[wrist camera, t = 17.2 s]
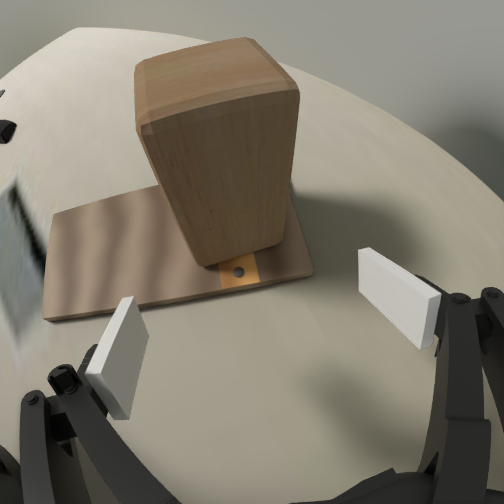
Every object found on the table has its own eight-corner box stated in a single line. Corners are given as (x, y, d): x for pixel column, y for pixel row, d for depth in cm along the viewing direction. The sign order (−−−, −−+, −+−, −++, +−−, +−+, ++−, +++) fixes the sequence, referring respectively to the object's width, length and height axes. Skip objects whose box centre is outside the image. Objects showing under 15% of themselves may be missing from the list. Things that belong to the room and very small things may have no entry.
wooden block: (180, 201, 35) (131, 59, 17) (256, 179, 37) (252, 32, 19) (198, 272, 31) (131, 127, 13) (285, 245, 32) (308, 85, 14)
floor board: (48, 321, 30) (41, 317, 29) (58, 219, 37) (52, 213, 36) (312, 275, 32) (314, 270, 31) (277, 169, 39) (278, 161, 38)
